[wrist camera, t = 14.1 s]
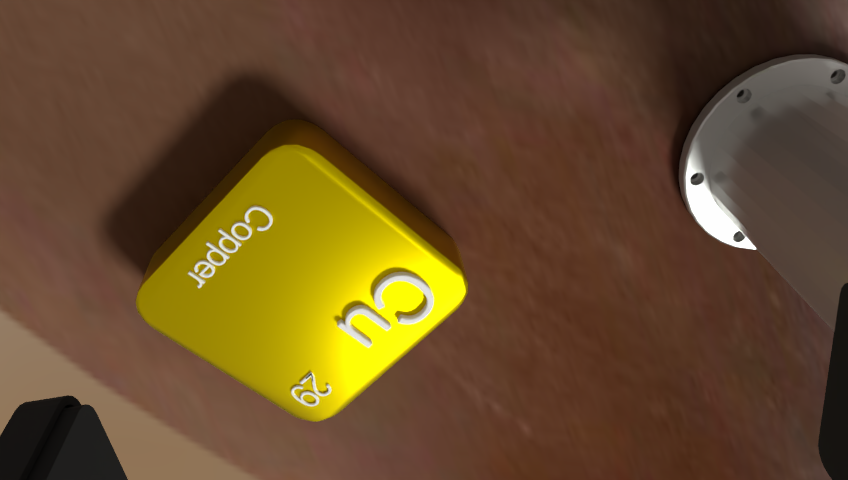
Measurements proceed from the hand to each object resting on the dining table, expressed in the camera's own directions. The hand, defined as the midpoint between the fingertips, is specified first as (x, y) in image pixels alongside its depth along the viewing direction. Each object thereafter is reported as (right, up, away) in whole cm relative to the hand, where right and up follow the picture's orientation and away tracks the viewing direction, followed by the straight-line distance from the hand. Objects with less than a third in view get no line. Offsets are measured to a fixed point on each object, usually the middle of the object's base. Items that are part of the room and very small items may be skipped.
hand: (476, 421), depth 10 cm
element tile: (-8, +1, +39) cm, 40 cm away
